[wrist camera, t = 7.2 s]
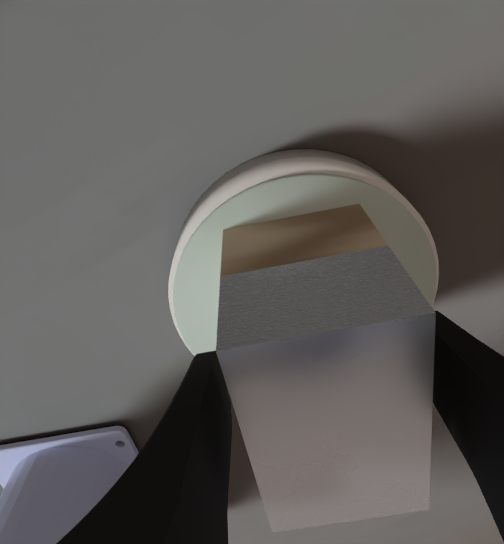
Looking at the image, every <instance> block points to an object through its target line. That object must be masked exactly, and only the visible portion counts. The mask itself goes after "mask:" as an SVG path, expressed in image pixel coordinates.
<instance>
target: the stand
mask: <svg viewBox="0 0 504 544" xmlns="http://www.w3.org/2000/svg"><path fill="white" fill-rule="evenodd" d="M355 204H360V205H361V207H362V208H363V209H364V211H365V212H366V214H367V215H368V217H369V218H370V220H371V221H372V222H373V224H374V225H375V227H376V228H377V230H378V231H379V232H380V234H381V235H382V237H383V238H384V240H385V241H386V242H387V244H388V245H389V247H390V248H391V250H392V251H393V252H394V254H395V255H396V257H397V258H398V260H399V261H400V262H401V264H402V265H403V267H404V268H405V270H406V271H407V273H408V274H409V275H410V277H411V278H412V280H413V281H414V283H415V284H416V285H417V287H418V288H419V290H420V291H421V293H422V294H423V295H424V297H425V298H426V300H427V301H428V303H429V304H430V305H431V307H432V306H433V304H434V300H435V297H436V293H437V289H438V279H439V263H438V255H437V251H436V246H435V243H434V240H433V238H432V235H431V233H430V230H429V228H428V227H427V225H426V223H425V222H424V220H423V218H422V217H421V215H420V214H419V213H418V212H417V210H416V209H415V208H414V207H413V206H412V205H411V203H410V202H409V201H408V200H407V199H406V198H405V197H404V196H403V195H402V194H401V193H400V192H399V191H398V190H397V189H396V188H395V187H394V186H393V185H392V184H391V183H390V182H389V181H388V180H387V179H385V178H384V177H383V176H382V175H381V174H380V173H378V172H377V171H376V170H374V169H372V168H371V167H369V166H368V165H366V164H364V163H363V162H360V161H358V160H356V159H353V158H351V157H349V156H346V155H342V154H338V153H335V152H331V151H324V150H316V149H293V150H286V151H279V152H274V153H270V154H267V155H263V156H260V157H257V158H255V159H252V160H250V161H248V162H245V163H243V164H241V165H239V166H237V167H236V168H234V169H232V170H231V171H229V172H227V173H226V174H225V175H223V176H222V177H221V178H219V179H218V180H217V181H216V182H214V183H213V184H212V185H211V186H210V187H209V188H208V189H207V190H206V191H205V192H204V193H203V194H202V195H201V197H200V198H199V199H198V201H197V202H196V203H195V205H194V206H193V208H192V209H191V211H190V213H189V215H188V216H187V218H186V220H185V222H184V224H183V227H182V230H181V233H180V236H179V239H178V243H177V247H176V250H175V254H174V258H173V262H172V266H171V271H170V276H169V290H168V296H169V304H170V311H171V314H172V318H173V321H174V324H175V326H176V328H177V331H178V333H179V335H180V337H181V338H182V340H183V342H184V343H185V345H186V346H187V348H188V349H189V350H190V351H191V352H192V354H193V355H194V356H195V355H196V354H198V353H204V352H210V351H215V350H216V341H217V324H218V306H219V289H220V272H221V254H222V237H223V230H225V229H230V228H235V227H241V226H246V225H251V224H256V223H261V222H267V221H272V220H277V219H282V218H287V217H292V216H298V215H303V214H308V213H313V212H318V211H324V210H329V209H334V208H339V207H344V206H349V205H355ZM218 360H219V359H218Z"/></svg>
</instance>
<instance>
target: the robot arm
mask: <svg viewBox="0 0 504 544" xmlns="http://www.w3.org/2000/svg"><path fill="white" fill-rule="evenodd" d="M435 313H436V318H435V348H434V377H433V403H434V405H435V407H436V408H437V410H438V412H439V414H440V415H441V417H442V419H443V421H444V422H445V424H446V426H447V428H448V429H449V431H450V433H451V435H452V436H453V438H454V440H455V442H456V443H457V445H458V447H459V448H460V450H461V452H462V454H463V455H464V457H465V459H466V461H467V462H468V464H469V466H470V468H471V470H472V472H473V474H474V476H475V478H476V480H477V482H478V484H479V487H480V489H481V491H482V493H483V496H484V498H485V500H486V502H487V504H488V507H489V509H490V511H491V513H492V516H493V518H494V520H495V523H496V525H497V527H498V529H499V532H500V534H501V536H502V539H503V541H504V356H502V355H500V354H499V353H497V352H496V351H494V350H493V349H491V348H490V347H488V346H487V345H485V344H484V343H482V342H481V341H479V340H478V339H476V338H475V337H473V336H472V335H471V334H469V333H468V332H466V331H465V330H463V329H462V328H461V327H459V326H458V325H456V324H455V323H454V322H452V321H451V320H449V319H448V318H447V317H445V316H444V315H442V314H441V313H440V312H438V311H435ZM231 438H232V415H231V398H230V395H229V392H228V388H227V385H226V382H225V379H224V375H223V372H222V369H221V366H220V363H219V360H218V356H217V353H216V350H215V351H210V352H204V353H198V354H196V355H195V357H194V358H193V360H192V363H191V365H190V367H189V369H188V371H187V373H186V375H185V377H184V379H183V381H182V383H181V385H180V387H179V389H178V391H177V393H176V394H175V396H174V398H173V400H172V402H171V404H170V405H169V407H168V409H167V411H166V412H165V414H164V416H163V417H162V419H161V421H160V422H159V424H158V425H157V427H156V429H155V430H154V432H153V433H152V435H151V436H150V438H149V439H148V441H147V442H146V444H145V445H144V447H143V448H142V450H141V451H140V452H138V450H137V448H136V446H135V444H134V442H133V441H132V439H131V437H130V435H129V433H128V431H127V430H126V429H125V428H124V427H122V426H111V427H106V428H100V429H94V430H88V431H82V432H76V433H70V434H64V435H58V436H52V437H47V438H41V439H35V440H29V441H23V442H17V443H11V444H5V445H0V485H1V486H2V487H3V488H4V490H3V492H2V494H1V496H0V544H228V523H227V504H228V485H229V470H230V455H231Z"/></svg>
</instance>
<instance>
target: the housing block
mask: <svg viewBox="0 0 504 544" xmlns="http://www.w3.org/2000/svg"><path fill="white" fill-rule="evenodd" d="M435 318H436V313H435V311H434V310H433V308H432V307H431V305H430V304H429V303H428V301H427V300H426V298H425V297H424V295H423V294H422V293H421V291H420V290H419V288H418V287H417V285H416V284H415V283H414V281H413V280H412V278H411V277H410V275H409V274H408V273H407V271H406V270H405V268H404V267H403V265H402V264H401V262H400V261H399V260H398V258H397V257H396V255H395V254H394V252H393V251H392V250H391V248H390V247H389V245H388V244H387V242H386V241H385V240H384V238H383V237H382V235H381V234H380V232H379V231H378V230H377V228H376V227H375V225H374V224H373V222H372V221H371V220H370V218H369V217H368V215H367V214H366V212H365V211H364V209H363V208H362V207H361V205H360V204H355V205H349V206H344V207H339V208H334V209H329V210H324V211H318V212H313V213H308V214H303V215H298V216H292V217H287V218H282V219H277V220H272V221H267V222H261V223H256V224H251V225H246V226H241V227H235V228H230V229H225V230H223V237H222V254H221V272H220V289H219V306H218V324H217V341H216V353H217V356H218V359H219V363H220V366H221V369H222V372H223V375H224V379H225V382H226V385H227V388H228V392H229V395H230V398H231V401H232V404H233V408H234V411H235V414H236V417H237V421H238V424H239V427H240V430H241V433H242V437H243V440H244V443H245V446H246V450H247V453H248V456H249V459H250V462H251V466H252V469H253V472H254V475H255V479H256V482H257V485H258V488H259V491H260V495H261V498H262V501H263V504H264V507H265V511H266V514H267V517H268V520H269V524H270V527H271V530H272V532H279V531H286V530H293V529H300V528H307V527H314V526H321V525H328V524H335V523H342V522H349V521H356V520H363V519H370V518H377V517H384V516H391V515H398V514H404V513H411V512H418V511H425V510H429V494H430V465H431V436H432V406H433V377H434V348H435Z"/></svg>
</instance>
